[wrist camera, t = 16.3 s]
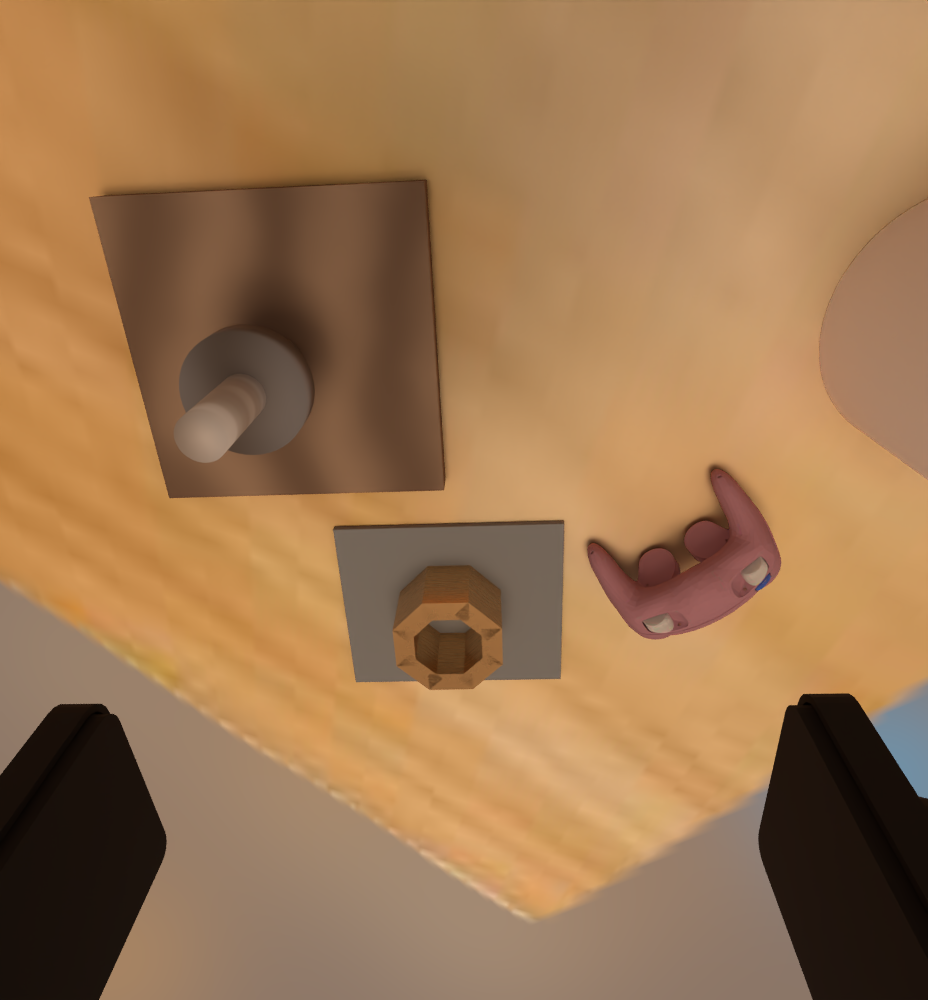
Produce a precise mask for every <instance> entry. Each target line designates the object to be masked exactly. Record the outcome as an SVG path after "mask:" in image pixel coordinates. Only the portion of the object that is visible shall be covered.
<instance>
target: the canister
mask: <svg viewBox="0 0 928 1000" xmlns="http://www.w3.org/2000/svg"><path fill="white" fill-rule="evenodd" d="M819 360H820V369H821V375H822V379H823V382H824V385H825V388H826V391H827V393H828V395H829V397H830V399H831V401H832V403H833V404H834V406H835V407H836V409H837V410H838V411H839V412H840V414H841V415H842V416H843V417H844V418H845V419H846V420H847V421H848V422H850V423H851V424H852V425H853V426H855V427H856V428H857V429H859V430H860V431H861V432H863V433H864V434H866V435H867V436H868V437H870V438H871V439H872V440H874V441H875V442H877V443H878V444H879V445H881V446H882V447H883V448H885V449H886V450H888V451H889V452H890V453H892V454H893V455H894V456H896V457H897V458H899V459H900V460H901V461H903V462H904V463H905V464H907V465H908V466H910V467H911V468H912V469H914V470H915V471H916V472H918V473H919V474H920V475H922V476H923V477H925V478H926V479H927V480H928V199H927V200H925V201H923V202H921V203H919V204H917V205H915V206H914V207H912V208H910V209H909V210H907V211H906V212H904V213H903V214H901V215H900V216H898V217H897V218H896V219H894V220H893V221H892V222H890V223H889V224H888V225H887V226H886V227H884V228H883V229H882V230H881V231H880V232H879V233H878V234H877V235H876V236H874V237H873V238H872V239H871V240H870V241H869V243H868V244H867V245H866V246H865V247H864V248H863V249H862V250H861V251H860V253H859V254H858V255H857V256H856V258H855V259H854V260H853V261H852V263H851V264H850V266H849V267H848V269H847V270H846V272H845V273H844V275H843V276H842V278H841V280H840V281H839V283H838V285H837V287H836V289H835V291H834V293H833V295H832V298H831V300H830V302H829V305H828V308H827V310H826V314H825V317H824V321H823V325H822V329H821V335H820V345H819Z"/></svg>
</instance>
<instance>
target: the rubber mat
mask: <svg viewBox="0 0 928 1000" xmlns="http://www.w3.org/2000/svg"><path fill="white" fill-rule="evenodd" d="M333 532H334V538H335V545H336V552H337V558H338V565H339V572H340V578H341V585H342V592H343V598H344V605H345V612H346V618H347V625H348V632H349V638H350V645H351V652H352V658H353V665H354V672H355V678H356V682H393V681H417V680H415V679H414V678H412V677H411V676H410V675H408V674H407V673H405V672H404V671H403V670H401V669H400V668H398V667H397V666H396V657H395V648H394V640H393V625H394V620H395V615H396V610H397V605H398V600H399V595H400V591H401V590H403V589H404V588H405V587H406V586H407V585H408V584H409V583H410V582H411V581H412V580H413V579H414V578H415V577H416V576H417V575H418V574H420V573H421V572H422V571H423V570H424V569H425V568H426V567H427V566H453V565H470V566H472V567H473V568H474V569H475V570H477V571H478V572H479V573H480V574H482V575H483V576H484V577H485V578H487V579H488V580H489V581H490V582H492V583H493V584H494V585H495V586H497V587H498V588H499V589H501V613H502V648H503V665H502V666H500V667H499V668H498V669H497V670H495V671H494V672H493V673H492V674H491V675H489V676H488V677H487V678H486V679H484V680H519V679H560V677H561V636H562V595H563V554H564V521H534V522H495V523H457V524H419V525H381V526H342V527H334V529H333ZM429 625H430V626H432V627H433V628H434V629H436V630H437V631H438V632H440V633H466V632H467V631H468V630H469V629H470V628H471V627H469V626H468V625H467V624H465V623H464V622H463V621H461V620H436V621H431V622H430V623H429Z"/></svg>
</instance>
